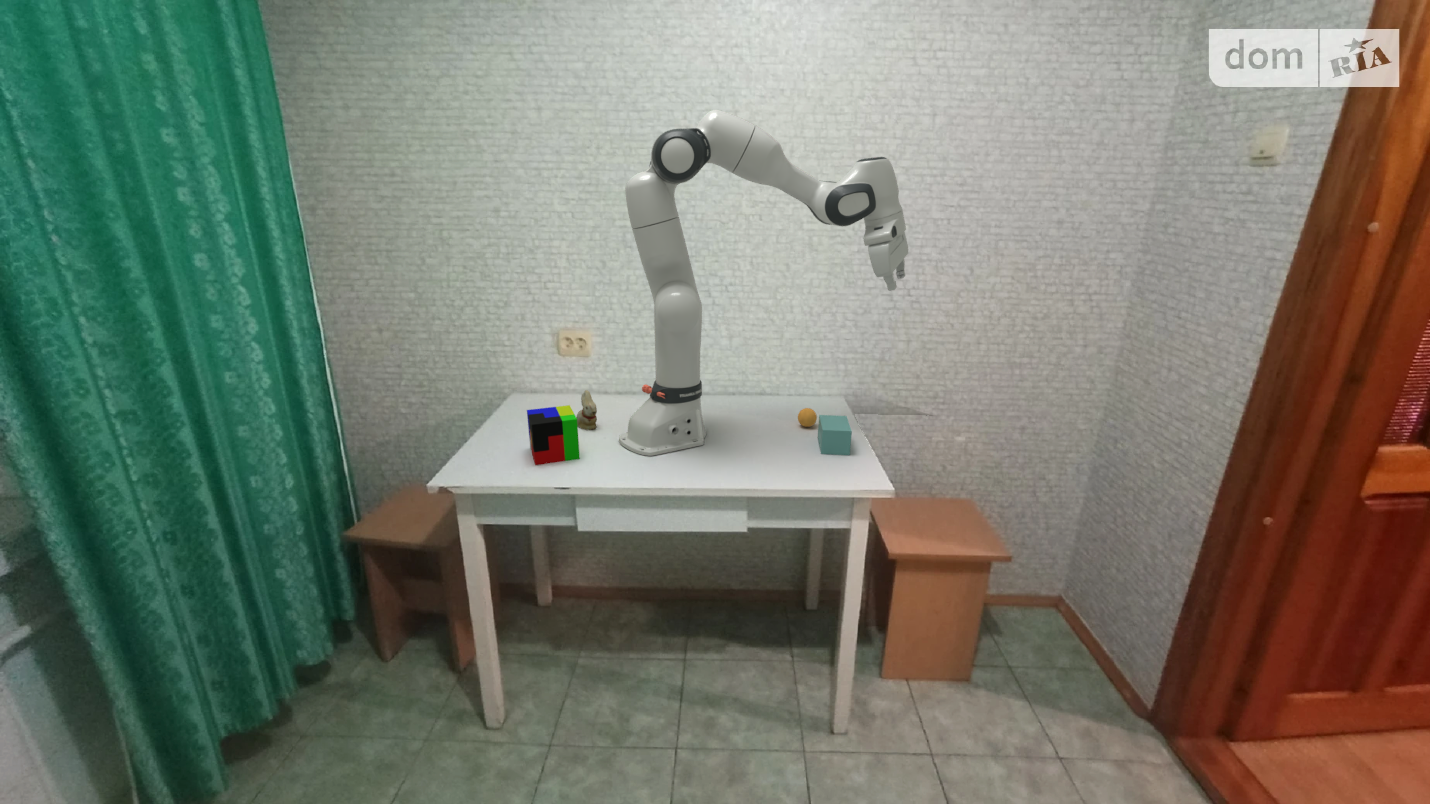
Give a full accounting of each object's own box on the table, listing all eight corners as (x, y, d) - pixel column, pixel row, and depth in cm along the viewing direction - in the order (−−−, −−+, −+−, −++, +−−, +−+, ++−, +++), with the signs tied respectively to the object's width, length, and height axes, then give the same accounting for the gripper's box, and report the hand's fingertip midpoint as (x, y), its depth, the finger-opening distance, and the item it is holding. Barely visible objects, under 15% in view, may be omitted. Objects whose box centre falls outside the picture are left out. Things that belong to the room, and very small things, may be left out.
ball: (807, 431, 165) (808, 413, 163) (793, 425, 168) (794, 408, 166) (820, 426, 168) (821, 409, 166) (805, 421, 171) (807, 404, 170)
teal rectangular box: (849, 455, 151) (851, 431, 148) (820, 454, 151) (822, 430, 149) (844, 438, 160) (846, 415, 158) (817, 437, 161) (819, 414, 158)
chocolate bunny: (576, 431, 162) (573, 395, 159) (576, 421, 169) (574, 385, 166) (597, 430, 163) (595, 394, 160) (597, 419, 170) (595, 384, 167)
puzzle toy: (530, 448, 152) (526, 410, 149) (572, 443, 155) (569, 405, 152) (535, 465, 143) (531, 424, 140) (579, 459, 147) (577, 419, 143)
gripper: (883, 220, 158) (894, 273, 163) (861, 240, 142) (873, 298, 147) (908, 214, 154) (918, 269, 159) (888, 234, 139) (900, 294, 143)
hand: (897, 283), depth 153 cm, fingers open, 8 cm apart
